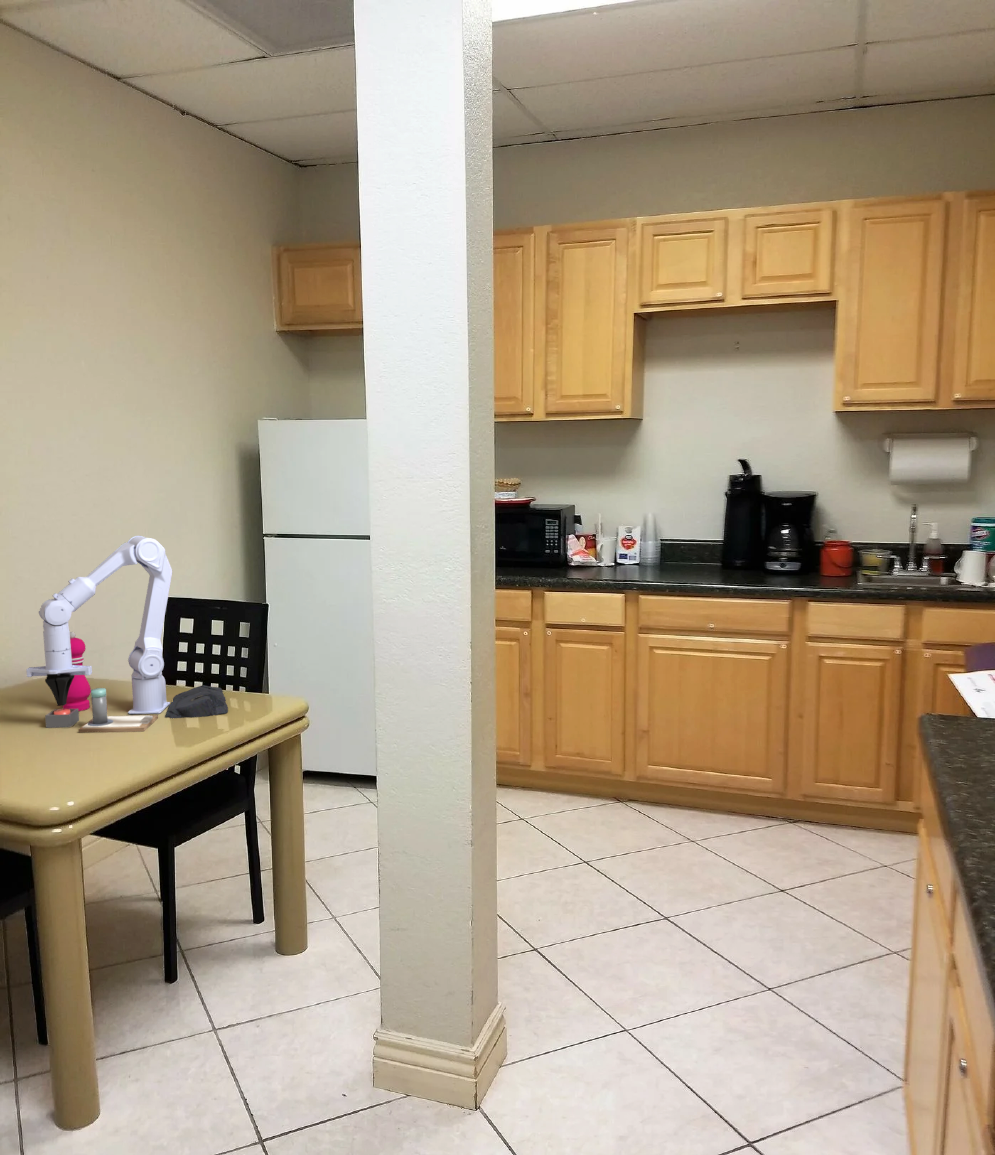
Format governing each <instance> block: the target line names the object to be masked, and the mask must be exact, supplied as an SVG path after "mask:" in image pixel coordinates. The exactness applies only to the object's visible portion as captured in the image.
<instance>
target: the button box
mask: <svg viewBox="0 0 995 1155" xmlns="http://www.w3.org/2000/svg"><path fill="white" fill-rule="evenodd" d="M59 709H60V708H55V709H53V710H51V711H49V712H48V713H46V715H45V728H47V729H49V728H50V729H52V728H55V729H56V728H71V727H73V726H74V725H76V724H77V723H78V722H79V721H80V714H79V712H80V711H78V709H70V713H69V714H68V715H54V711H55V710H59Z"/></svg>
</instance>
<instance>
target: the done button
mask: <svg viewBox="0 0 995 1155" xmlns="http://www.w3.org/2000/svg"><path fill="white" fill-rule="evenodd" d="M58 709H59V710H55V711H54V715H68V714H69V713H70V709H63V708H58Z"/></svg>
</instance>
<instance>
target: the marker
mask: <svg viewBox="0 0 995 1155" xmlns="http://www.w3.org/2000/svg"><path fill="white" fill-rule="evenodd" d="M90 697H91V698H90V699H91V711H92V712H91V714H92V719H93V724H104V723H107V722H108V719H107V716H108V708H107V707H108V705H107V703H108V702H107V689H106V688H104V687H97V688H93V689H91V693H90Z"/></svg>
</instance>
